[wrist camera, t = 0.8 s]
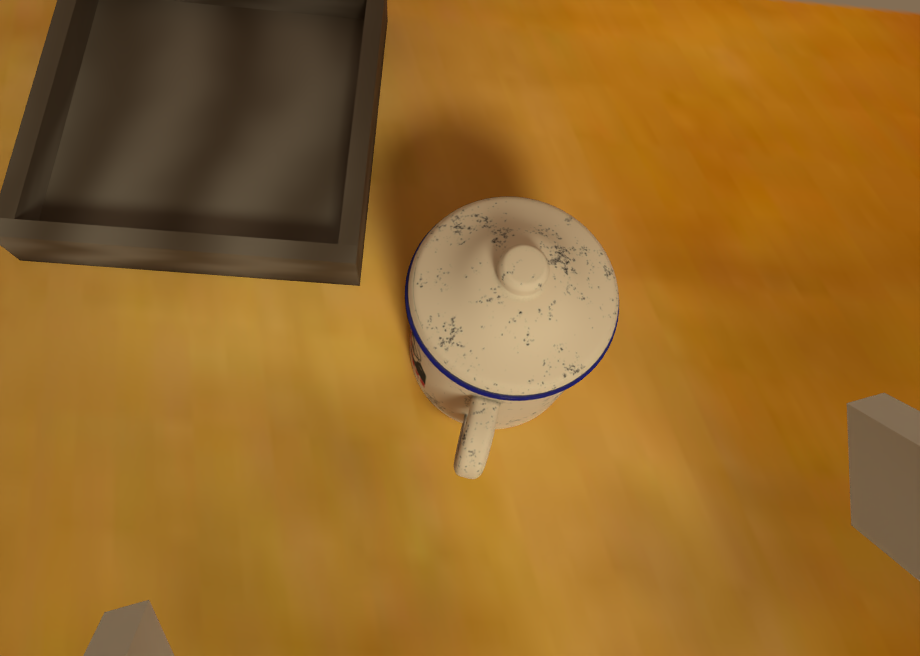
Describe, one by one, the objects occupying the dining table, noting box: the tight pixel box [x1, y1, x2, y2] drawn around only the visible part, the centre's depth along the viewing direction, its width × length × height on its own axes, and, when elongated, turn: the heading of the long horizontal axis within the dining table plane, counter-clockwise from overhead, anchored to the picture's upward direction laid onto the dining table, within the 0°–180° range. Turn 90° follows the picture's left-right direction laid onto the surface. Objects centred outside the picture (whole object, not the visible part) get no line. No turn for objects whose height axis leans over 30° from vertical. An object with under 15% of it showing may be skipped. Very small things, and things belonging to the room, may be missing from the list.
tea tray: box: [0, 0, 387, 286], centre depth 39 cm, size 18×18×3 cm
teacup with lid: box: [405, 197, 619, 479], centre depth 31 cm, size 12×9×12 cm
